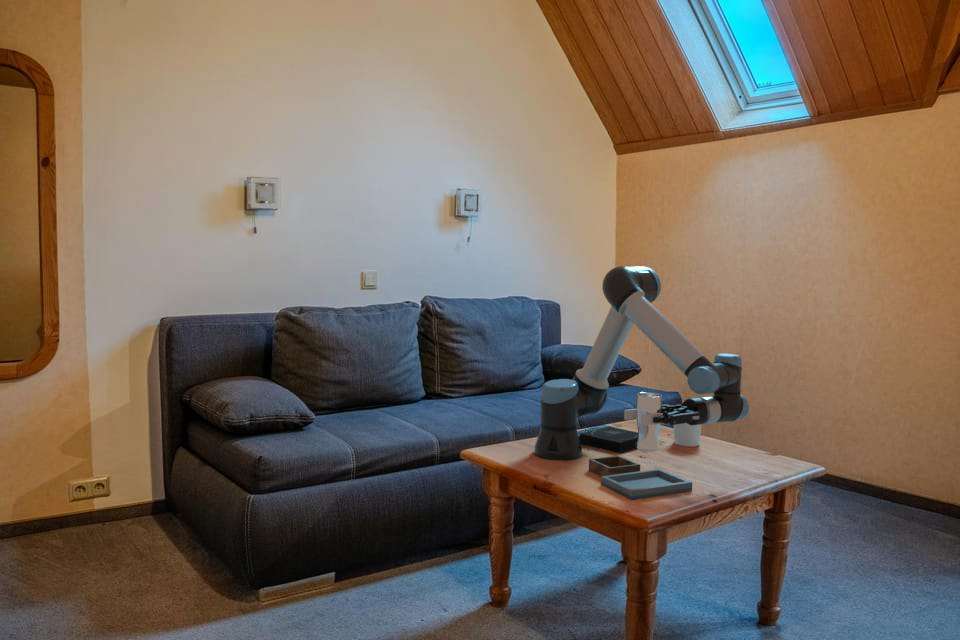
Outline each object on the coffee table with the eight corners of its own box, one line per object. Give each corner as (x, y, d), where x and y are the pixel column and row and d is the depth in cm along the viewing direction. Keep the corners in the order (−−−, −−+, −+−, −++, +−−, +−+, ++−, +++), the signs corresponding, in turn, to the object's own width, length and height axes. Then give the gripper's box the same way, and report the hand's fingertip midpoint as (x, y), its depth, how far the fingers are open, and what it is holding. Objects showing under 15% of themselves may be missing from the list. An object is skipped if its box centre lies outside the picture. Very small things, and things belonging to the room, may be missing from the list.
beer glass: (629, 446, 205) (631, 393, 204) (650, 444, 208) (651, 391, 207) (645, 452, 199) (646, 397, 197) (666, 450, 202) (667, 395, 200)
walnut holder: (588, 470, 220) (589, 459, 220) (618, 466, 225) (618, 455, 224) (609, 480, 211) (609, 468, 210) (639, 476, 215) (640, 464, 215)
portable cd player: (606, 437, 264) (607, 426, 264) (648, 446, 252) (648, 434, 252) (577, 444, 253) (578, 433, 252) (619, 454, 241) (620, 442, 240)
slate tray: (601, 485, 206) (601, 476, 206) (659, 477, 215) (659, 468, 214) (631, 500, 194) (631, 491, 193) (691, 491, 202) (692, 482, 202)
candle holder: (706, 443, 255) (707, 409, 254) (693, 448, 247) (694, 413, 246) (680, 438, 261) (681, 405, 260) (666, 443, 254) (667, 409, 253)
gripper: (724, 431, 202) (656, 439, 192) (676, 417, 219) (611, 423, 210) (725, 404, 201) (657, 410, 191) (677, 392, 219) (612, 397, 209)
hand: (633, 417), depth 200 cm, fingers closed on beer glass, 7 cm apart
